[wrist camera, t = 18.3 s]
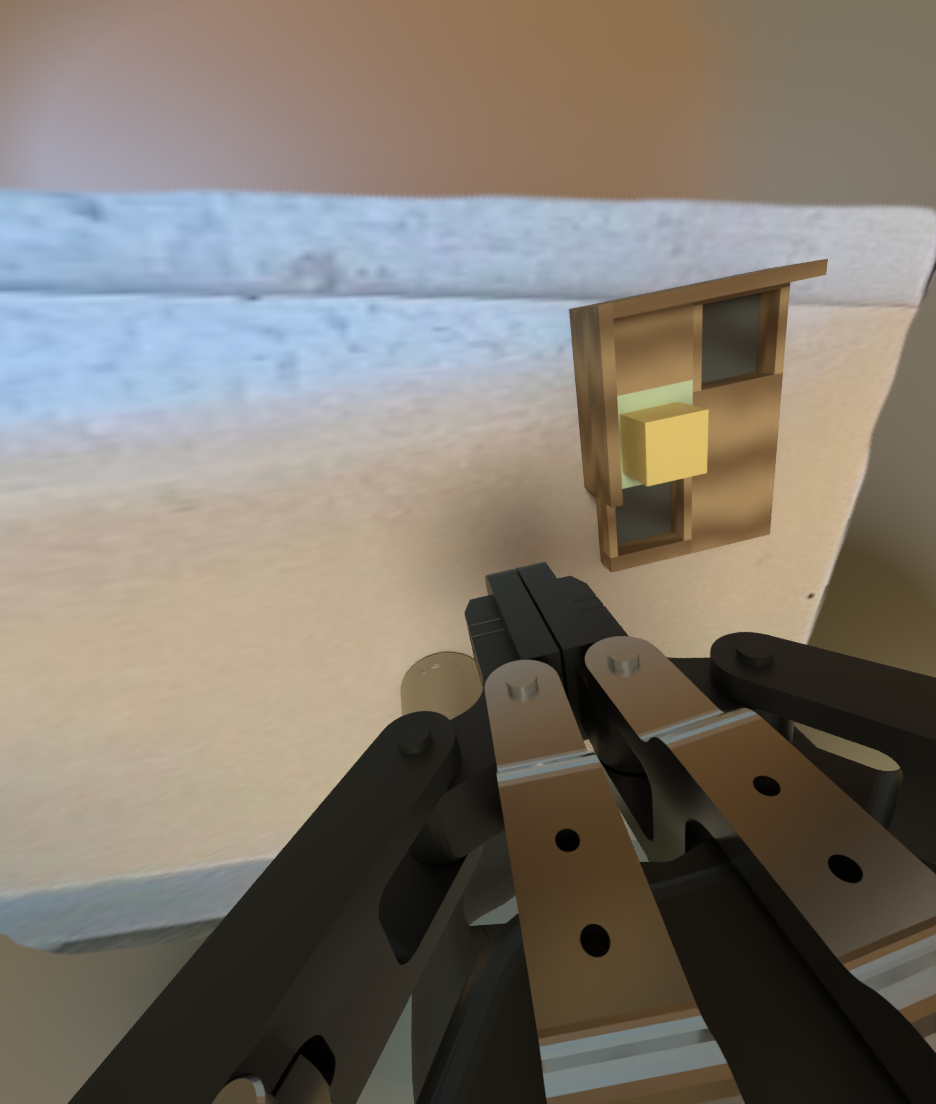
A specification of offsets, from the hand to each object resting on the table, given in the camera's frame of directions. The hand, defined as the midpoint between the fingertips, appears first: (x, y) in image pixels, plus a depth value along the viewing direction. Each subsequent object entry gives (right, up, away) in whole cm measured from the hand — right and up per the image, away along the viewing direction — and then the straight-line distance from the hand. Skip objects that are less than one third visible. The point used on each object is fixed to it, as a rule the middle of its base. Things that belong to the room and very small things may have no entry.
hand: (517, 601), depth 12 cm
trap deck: (+18, +12, +33) cm, 39 cm away
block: (+14, +11, +30) cm, 35 cm away
